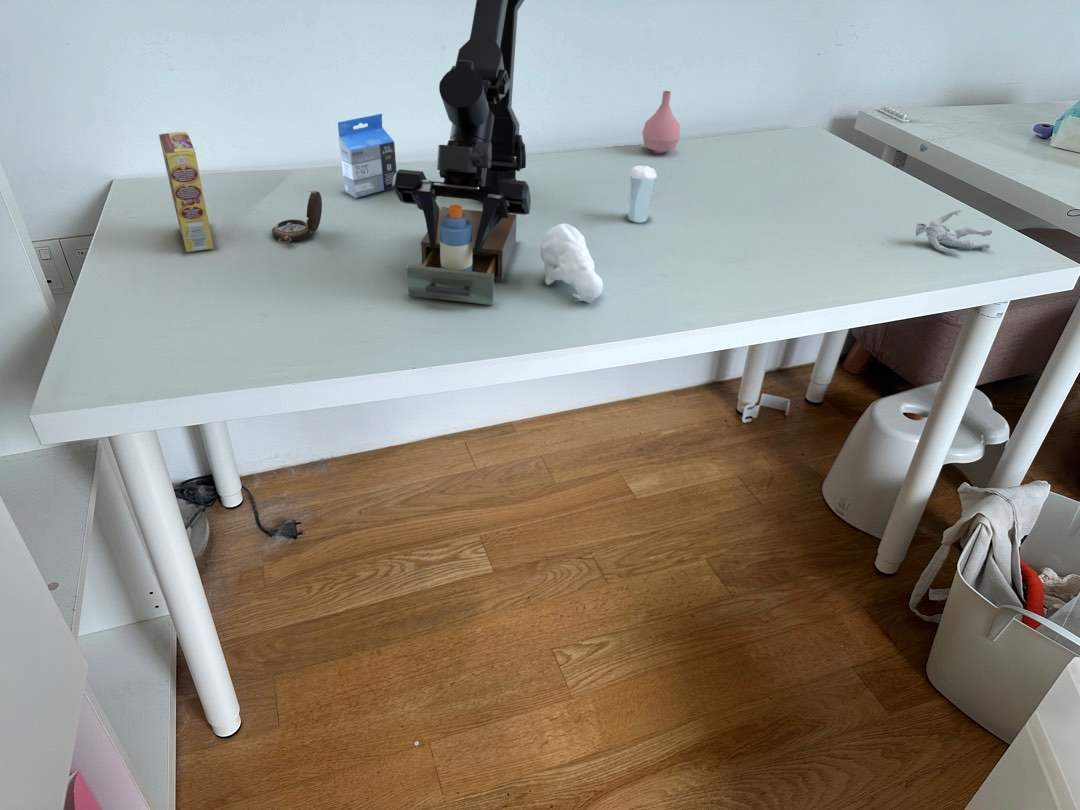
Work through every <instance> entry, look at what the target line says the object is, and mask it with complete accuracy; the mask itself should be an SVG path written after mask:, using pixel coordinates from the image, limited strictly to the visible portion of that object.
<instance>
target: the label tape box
mask: <svg viewBox="0 0 1080 810" xmlns="http://www.w3.org/2000/svg"><path fill="white" fill-rule="evenodd" d="M360 124H362V125H366V124H367V126H363V127H359V128H354V127H355V126H359V125H360ZM337 129H338V130H337V132H338V133H337V134H338V144H339V145H338V146H339V152H340V160H341V168H342V169H341V170H342V175H343V184H344V191H345V193H347V194H348V195H350V196H351V197H354V198H356V199H358V198H360V197H361V198H362V197H364V196H369V195H372V194H376V193H381V192H385V191H387V190H390V189H393V188H392V182H393V176H394V174H395V173H396V172H397V171H398V170H397V159H396V147H395V146H396V145H395V141H394V140H393V138H392V137H391V136H390V134H388V132H387V131H386V130H385V129H384V127H383V114H382V113H378V114H373V115H367V116H362V117H357V118H352V119H347V120H342V121H338V122H337Z"/></svg>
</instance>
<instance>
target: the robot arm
mask: <svg viewBox="0 0 1080 810" xmlns="http://www.w3.org/2000/svg"><path fill="white" fill-rule="evenodd" d="M524 2H525V0H476V1H475V7H474V11H473V12H474V13H473V19H472V24H471V30H470V36H469V39H468V40H467V41H466V42H465V43H464V44H463V45H462V46H461V47H459V48H458V53H457V57H456V61H455V65H452V66H451V68H450V70H448V71H447V72H446V73H445V74H444V75H443V76H442V79H441V80H440V81H439V86H438V91H439V94H440V97H441V100H442V103H443V104H442V105H443V107H444V109H445V112H446V115H447V118H448V120H449V122H451V129H450V135H449V140H447V144H438V146H437V147H438V148H437V161H436V162H437V163H436V170H437V171H439V173H438V175H439V177H440V178H441V179H442V178H443V181H432V180H430V179H427V177H426V175H425V172H424V171H422V170H410V169H401V168H400V169H398V170H397V172H396V173H395V174H394V176H393V182H392V188H391V189H392V190H393V191H394V193H395V195H396V196H397V198H398V200H399V201H400V202H401V203H404V204H409V205H416V206H417V207H416V208H418V210H420V211H422V212H423V216H424V219H425V224H426V232H427V231H428V237H429V243H430V247H431V249H433V250H434V249H435V245H436V241H437V231H438V220H439V211H440V207H439V205H438V202H437V201H436V200H437V199H438V197H442V198H452V199H453V198H454V199H462V200H463V199H464V200H473V201H474V200H475V201H481V202H482V210H481V211H482V216H481V220H480V224H479V228H478V232H477V236H476V241H475V250H474V252H475V254H478V253H479V252H480V250H481V248H482V247H483V245H484V243H485V241H486V240H487V238H488V236H489V235H490V233H491V232H492V230H493V229H494V228H495V226H496V225H497V224H498V223H499V221H500V220H501V219H502V218H508V217H509V214H516V215H523V216H526V215H530V209H531V204H532V203H531V202H532V197H531V192H530V186H529V184H528V183H527V182H526V180H518V179H517V178H516V177H517V174H516V173H517V172H521V170H523V169H526V167H527V152H526V144H525V142H524V141H523V140H524V139H523V135H522V134H520V122H519V120H518V118H517V116H516V114H515V111H514V109H513V106H512V105H513V104H512V103H513V87H514V74H515V73H514V72H515V58H516V57H515V56H516V41H517V25H518V14H519V13H518V11H519V10H520V8H521V6H522V5H523V4H524Z"/></svg>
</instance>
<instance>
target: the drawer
mask: <svg viewBox="0 0 1080 810" xmlns="http://www.w3.org/2000/svg"><path fill="white" fill-rule="evenodd" d="M472 261H473V263H472V271H462V270H453V269H443V268H441V262H440V248H435V249H434V250H433V249H431V251H430V253H429V254H428V256H427V258H426V260H425V262H424V263H423V265H422V264H421V265H413V264H408V265H407V267H406V276H407V290H408V291H407V292H408V297H414V298H424V299H433V300H434V299H435V300H441V301H442V300H444V301H452V302H461V303H471V304H480V305H489V306H493V304H494V301H495V281H494V275H495V272H496V270H497V267H498V254H490V253H481V252H479V253H478V254H475V252H472Z"/></svg>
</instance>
